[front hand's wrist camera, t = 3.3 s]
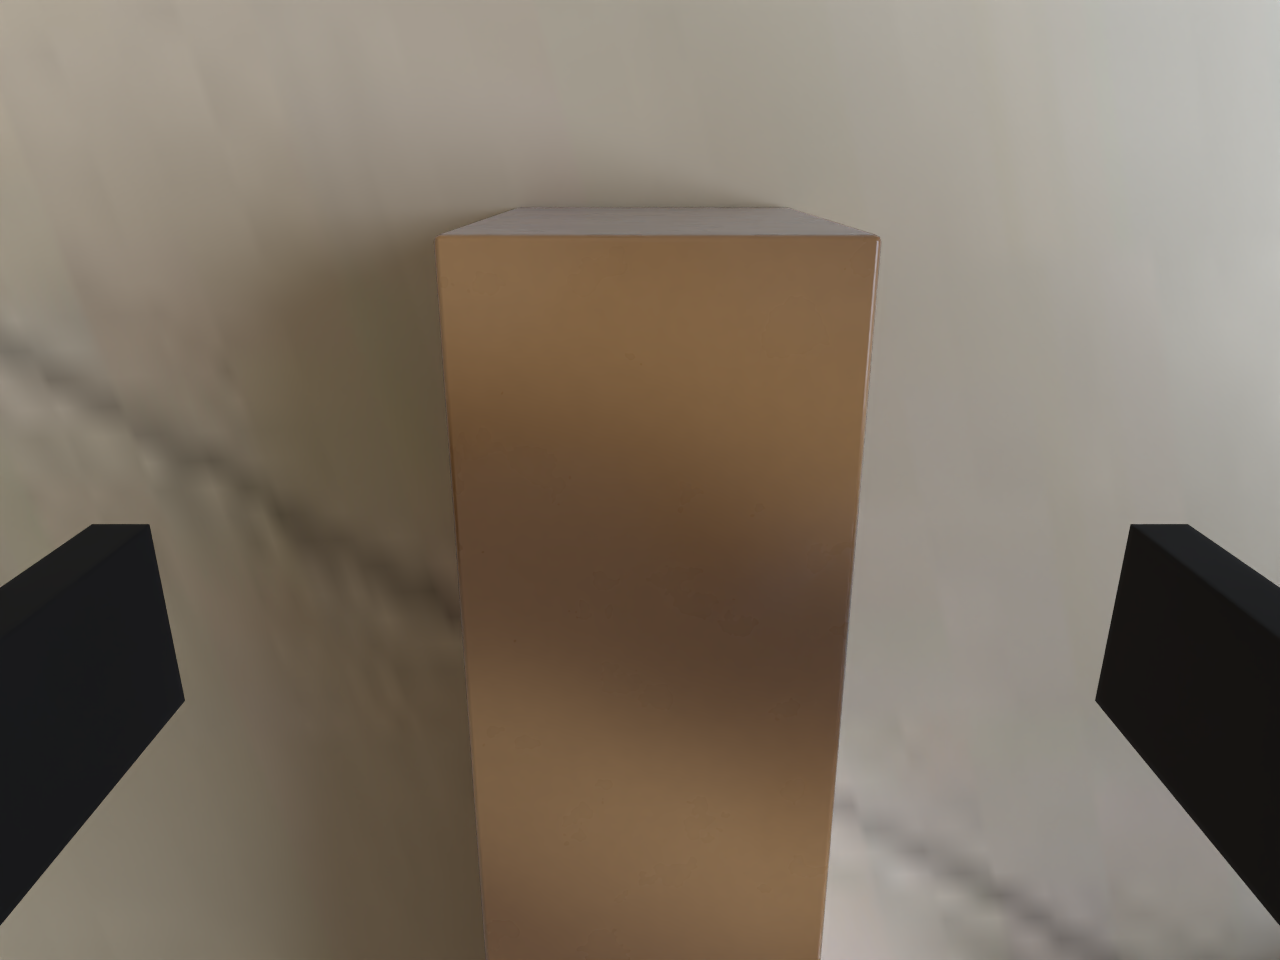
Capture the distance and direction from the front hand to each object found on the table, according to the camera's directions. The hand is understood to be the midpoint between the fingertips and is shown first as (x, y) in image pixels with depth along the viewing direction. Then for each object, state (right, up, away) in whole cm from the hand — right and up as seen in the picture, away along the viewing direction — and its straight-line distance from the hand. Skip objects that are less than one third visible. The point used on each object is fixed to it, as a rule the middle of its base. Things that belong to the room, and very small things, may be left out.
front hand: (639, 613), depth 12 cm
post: (0, -26, +18) cm, 32 cm away
